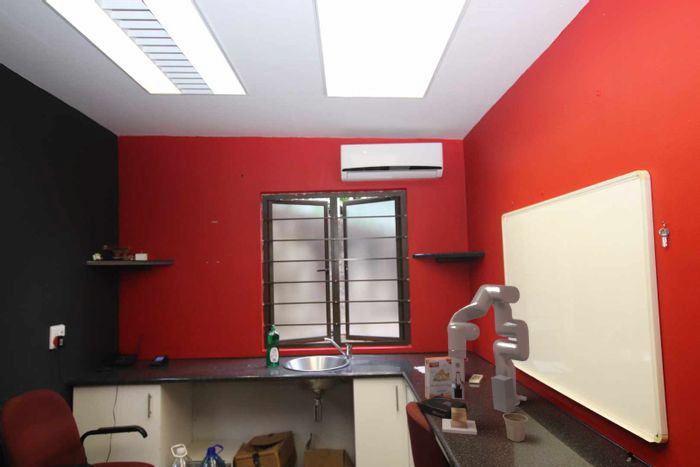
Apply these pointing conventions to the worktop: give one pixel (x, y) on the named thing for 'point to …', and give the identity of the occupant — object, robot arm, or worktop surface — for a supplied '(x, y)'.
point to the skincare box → (503, 394)
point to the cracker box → (438, 377)
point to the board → (469, 430)
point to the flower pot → (515, 426)
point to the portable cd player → (440, 406)
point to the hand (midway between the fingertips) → (458, 395)
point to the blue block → (453, 391)
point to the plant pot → (465, 365)
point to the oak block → (459, 417)
